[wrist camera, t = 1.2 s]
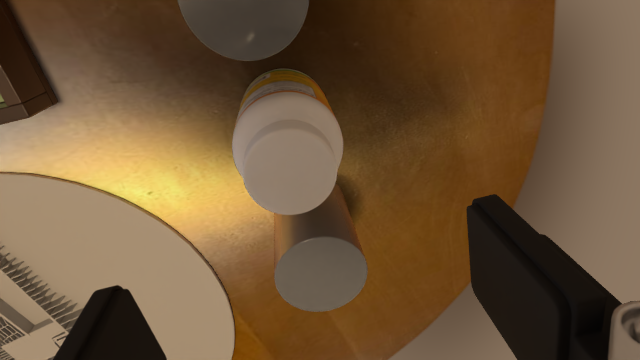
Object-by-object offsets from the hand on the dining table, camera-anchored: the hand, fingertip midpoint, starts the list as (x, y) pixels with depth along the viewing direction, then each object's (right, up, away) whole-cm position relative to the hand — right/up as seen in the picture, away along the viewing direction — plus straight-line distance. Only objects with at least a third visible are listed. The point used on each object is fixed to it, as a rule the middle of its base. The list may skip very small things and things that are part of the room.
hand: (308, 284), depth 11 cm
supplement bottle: (-2, +7, +15) cm, 17 cm away
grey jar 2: (0, +1, +18) cm, 18 cm away
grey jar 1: (-3, +13, +11) cm, 18 cm away
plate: (-21, -9, +20) cm, 30 cm away
